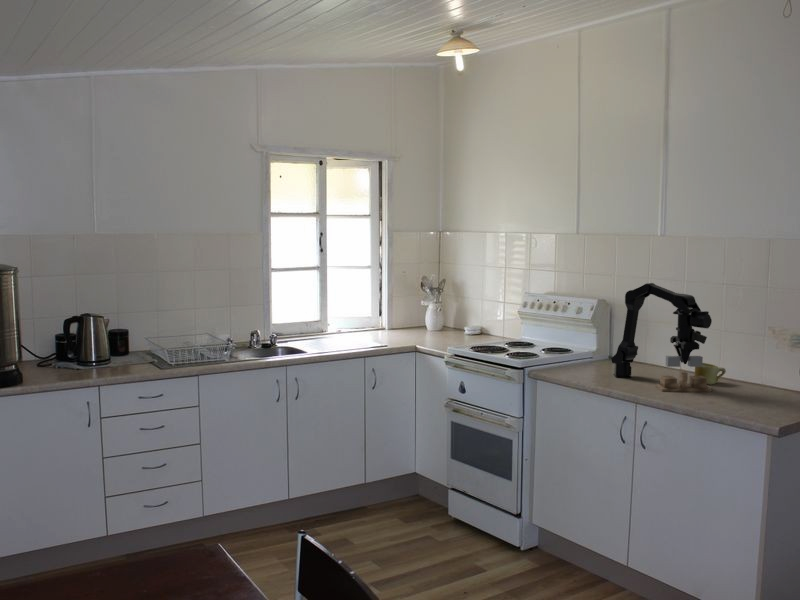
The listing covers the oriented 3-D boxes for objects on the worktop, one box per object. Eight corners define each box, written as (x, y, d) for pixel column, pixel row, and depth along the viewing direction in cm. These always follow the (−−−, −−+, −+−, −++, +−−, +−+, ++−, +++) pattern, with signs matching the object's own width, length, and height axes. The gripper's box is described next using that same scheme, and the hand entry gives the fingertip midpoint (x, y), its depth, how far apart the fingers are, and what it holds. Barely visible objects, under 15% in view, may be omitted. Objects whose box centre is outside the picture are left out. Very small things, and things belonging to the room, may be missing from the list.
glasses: (667, 366, 311) (668, 357, 311) (665, 365, 314) (665, 355, 314) (702, 366, 311) (702, 357, 310) (699, 365, 314) (700, 355, 313)
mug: (689, 379, 322) (696, 357, 323) (691, 382, 331) (698, 361, 332) (719, 388, 316) (726, 365, 317) (721, 391, 325) (727, 369, 326)
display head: (661, 391, 309) (662, 374, 309) (655, 386, 318) (655, 370, 318) (711, 391, 308) (712, 374, 308) (703, 386, 317) (704, 370, 317)
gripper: (713, 328, 301) (711, 367, 303) (697, 322, 320) (696, 359, 321) (684, 329, 302) (683, 367, 303) (670, 322, 320) (669, 359, 322)
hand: (683, 363), depth 312 cm, fingers closed on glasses, 3 cm apart
